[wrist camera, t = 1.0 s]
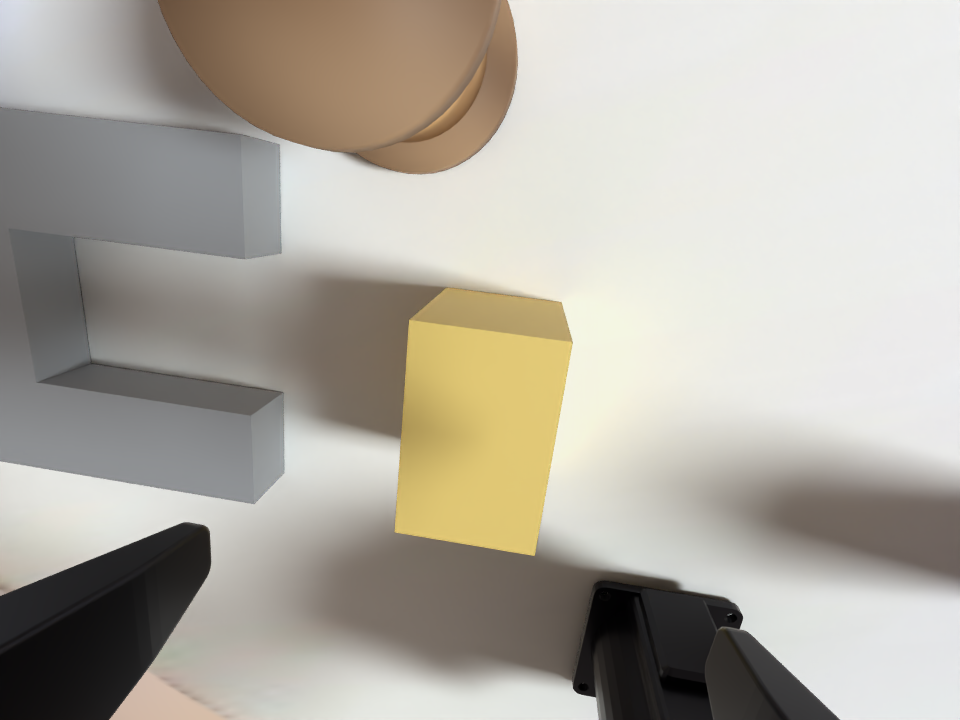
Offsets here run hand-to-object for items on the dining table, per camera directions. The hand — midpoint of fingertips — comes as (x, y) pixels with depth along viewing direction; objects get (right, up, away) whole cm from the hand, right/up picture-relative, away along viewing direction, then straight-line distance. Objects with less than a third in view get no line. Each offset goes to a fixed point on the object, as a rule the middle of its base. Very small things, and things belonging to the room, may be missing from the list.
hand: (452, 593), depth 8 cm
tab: (+1, +3, +11) cm, 12 cm away
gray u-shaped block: (-14, +6, +12) cm, 19 cm away
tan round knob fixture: (-2, +14, +8) cm, 17 cm away
